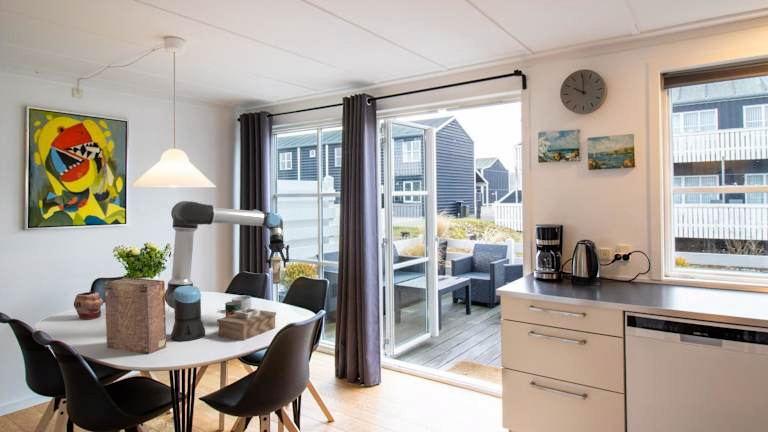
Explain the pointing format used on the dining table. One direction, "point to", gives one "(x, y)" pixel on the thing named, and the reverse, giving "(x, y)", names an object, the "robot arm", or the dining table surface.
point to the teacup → (243, 301)
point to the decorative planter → (88, 305)
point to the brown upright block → (135, 314)
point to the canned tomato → (232, 307)
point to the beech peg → (276, 269)
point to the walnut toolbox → (246, 323)
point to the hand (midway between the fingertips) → (277, 272)
